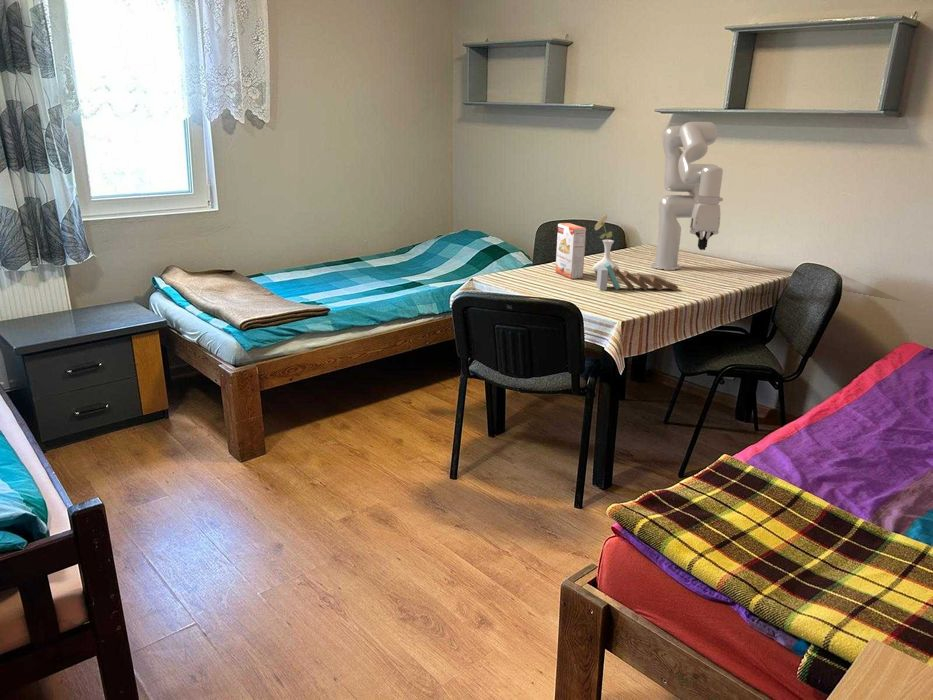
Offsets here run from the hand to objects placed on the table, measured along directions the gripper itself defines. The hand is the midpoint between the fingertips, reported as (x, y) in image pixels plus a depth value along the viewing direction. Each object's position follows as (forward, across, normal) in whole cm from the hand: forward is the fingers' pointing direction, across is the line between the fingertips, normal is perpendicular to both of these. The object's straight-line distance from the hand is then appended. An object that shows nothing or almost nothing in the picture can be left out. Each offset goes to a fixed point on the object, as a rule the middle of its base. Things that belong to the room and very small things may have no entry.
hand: (701, 249), depth 273 cm
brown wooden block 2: (+15, +9, +1) cm, 17 cm away
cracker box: (+17, +46, -22) cm, 54 cm away
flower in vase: (+17, +30, -28) cm, 44 cm away
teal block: (+15, +31, 0) cm, 35 cm away
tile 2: (+15, +14, +1) cm, 21 cm away
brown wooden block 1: (+15, +26, 0) cm, 30 cm away
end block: (+16, +37, 0) cm, 41 cm away
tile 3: (+15, +20, +1) cm, 25 cm away
